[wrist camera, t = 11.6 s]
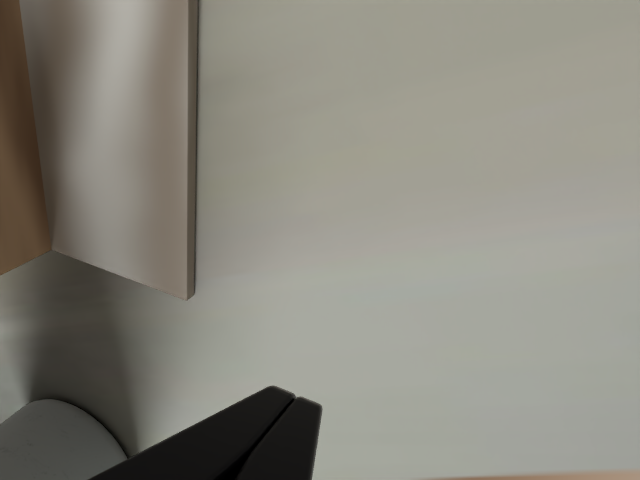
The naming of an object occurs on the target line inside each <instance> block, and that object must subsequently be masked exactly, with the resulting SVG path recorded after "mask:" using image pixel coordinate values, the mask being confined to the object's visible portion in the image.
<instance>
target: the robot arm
mask: <svg viewBox="0 0 640 480" xmlns="http://www.w3.org/2000/svg"><path fill="white" fill-rule="evenodd" d="M321 416H322V406H321V405H320V404H318V403H316V402H313V401H311V400H309V399H306V398H304V397H297V398H296V396H295V394H293V393H291V392H289V391H286V390H284V389H282V388H279V387H277V386H269V387H266V388H264V389H263V390H261V391H259V392H257V393H255V394H253V395H251V396H249V397H247V398H245V399H243V400H241V401H239V402H237V403H235V404H233V405H231V406H229V407H228V408H226V409H224V410H222V411H220V412H218V413H216V414H214V415H212V416H210V417H208V418H206V419H204V420H202V421H200V422H198V423H196V424H195V425H193V426H191V427H189V428H187V429H185V430H183V431H181V432H179V433H177V434H175V435H173V436H171V437H169V438H167V439H165V440H163V441H161V442H160V443H158V444H156V445H154V446H152V447H150V448H148V449H146V450H144V451H142V452H140V453H138V454H136V455H134V456H132V457H130V458H128V459H126V460H125V461H123V462H121V463H119V464H117V465H115V466H113V467H111V468H109V469H107V470H105V471H103V472H101V473H99V474H97V475H95V476H93V477H91V478H90V479H88V480H312V475H313V468H314V462H315V455H316V449H317V442H318V436H319V429H320V423H321Z"/></svg>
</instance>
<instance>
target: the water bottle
mask: <svg viewBox="0 0 640 480" xmlns="http://www.w3.org/2000/svg"><path fill="white" fill-rule="evenodd" d="M126 459H127V457H126V455H125V454H124V452H123V450H122V449H121V447H120V445H119V444H118V443H117V441H116V440H115V439H114V437H113V436H112V435H111V434H110V433H109V432H108V431H107V430H106V429H105V427H104V426H103V425H102V424H100V423H99V422H98V421H97V420H96V419H94V418H93V417H92V416H90V415H89V414H87V413H86V412H84V411H83V410H81V409H79V408H77V407H75V406H73V405H71V404H69V403H66V402H63V401H59V400H54V399H44V400H38V401H33V402H31V403H29V404H27V405H26V406H24V407H22V408H21V409H20V410H18V411H17V412H16V413H15V414H13V415H12V416H11V417H9V418H8V419H7V420H5V421H4V422H3V423H1V424H0V480H88V479H90V478H91V477H93V476H95V475H97V474H99V473H101V472H103V471H105V470H107V469H109V468H111V467H113V466H115V465H117V464H119V463H121V462H123V461H125V460H126Z"/></svg>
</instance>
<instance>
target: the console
mask: <svg viewBox="0 0 640 480" xmlns="http://www.w3.org/2000/svg"><path fill="white" fill-rule="evenodd" d="M197 25H198V0H0V275H2V274H4V273H6V272H8V271H10V270H12V269H14V268H16V267H18V266H20V265H22V264H24V263H26V262H28V261H30V260H32V259H34V258H36V257H38V256H40V255H42V254H44V253H46V252H48V251H50V250H54V251H56V252H59V253H62V254H64V255H67V256H69V257H72V258H75V259H77V260H80V261H83V262H85V263H88V264H91V265H93V266H96V267H99V268H101V269H104V270H107V271H109V272H112V273H115V274H117V275H120V276H122V277H125V278H128V279H130V280H133V281H136V282H138V283H141V284H144V285H146V286H149V287H152V288H154V289H157V290H160V291H162V292H165V293H168V294H170V295H173V296H175V297H178V298H181V299H183V300H186V301H187V300H188V299H190V298H191V297H192V296H193V295H194V261H195V183H196V104H197Z"/></svg>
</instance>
